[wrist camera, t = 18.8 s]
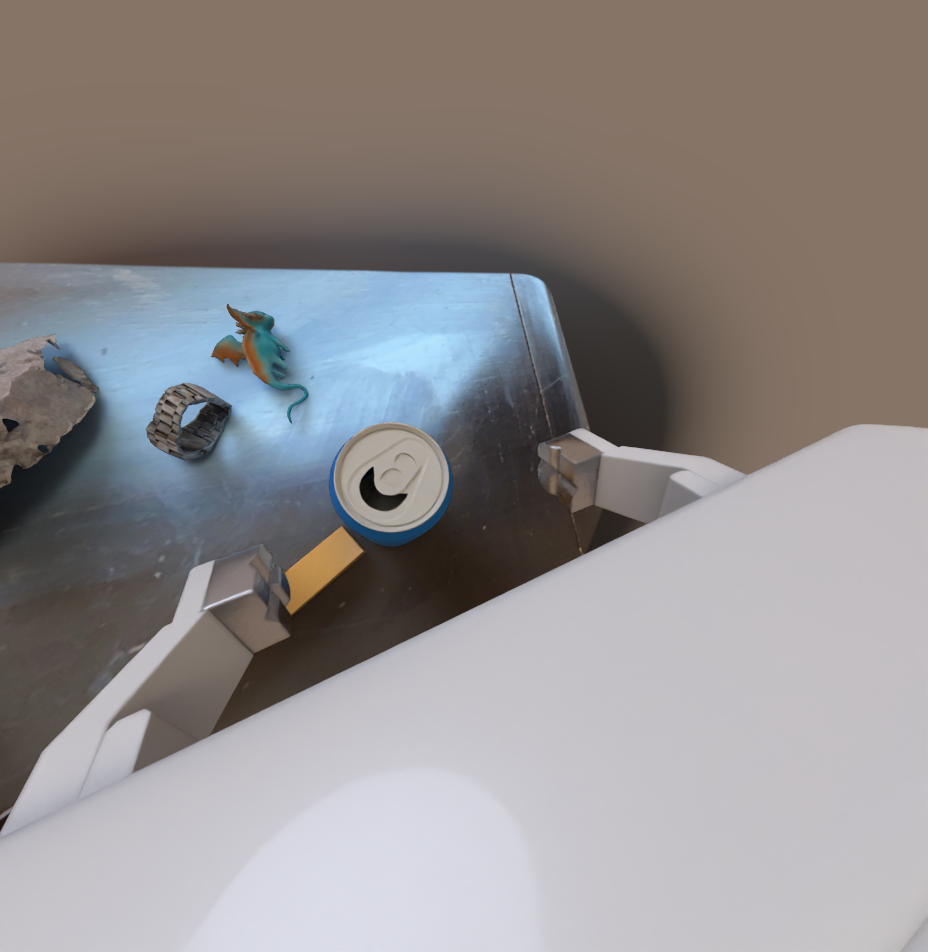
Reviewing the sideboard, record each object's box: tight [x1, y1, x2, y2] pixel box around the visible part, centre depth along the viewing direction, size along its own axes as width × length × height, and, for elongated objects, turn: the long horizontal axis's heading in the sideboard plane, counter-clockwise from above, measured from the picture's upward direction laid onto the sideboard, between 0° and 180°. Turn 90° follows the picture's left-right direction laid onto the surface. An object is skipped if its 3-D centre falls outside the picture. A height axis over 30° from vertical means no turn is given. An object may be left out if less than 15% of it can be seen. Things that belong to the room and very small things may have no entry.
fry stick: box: [285, 526, 366, 617], centre depth 23 cm, size 15×2×2 cm, turn 133°
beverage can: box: [329, 422, 453, 546], centre depth 22 cm, size 6×6×12 cm
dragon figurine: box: [211, 304, 308, 424], centre depth 27 cm, size 7×7×8 cm
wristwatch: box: [146, 383, 232, 460], centre depth 24 cm, size 3×5×5 cm
